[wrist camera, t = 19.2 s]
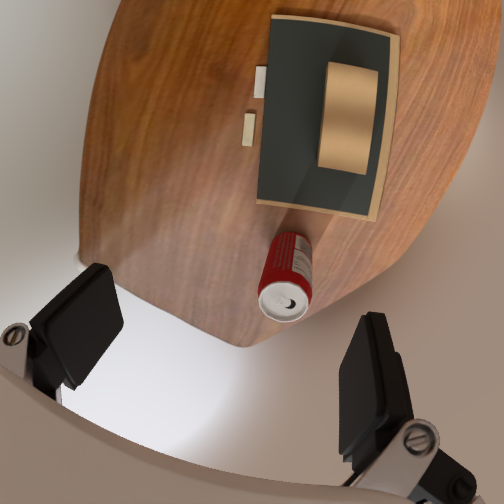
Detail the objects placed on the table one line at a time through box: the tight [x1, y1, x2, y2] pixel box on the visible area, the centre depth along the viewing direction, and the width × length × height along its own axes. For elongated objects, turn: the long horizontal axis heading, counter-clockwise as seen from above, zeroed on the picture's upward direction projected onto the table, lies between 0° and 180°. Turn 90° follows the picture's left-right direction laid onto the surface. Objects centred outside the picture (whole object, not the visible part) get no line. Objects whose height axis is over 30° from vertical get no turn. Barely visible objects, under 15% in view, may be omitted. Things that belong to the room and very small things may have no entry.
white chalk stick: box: [254, 66, 267, 98], centre depth 28 cm, size 4×1×1 cm, turn 177°
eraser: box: [316, 62, 378, 175], centre depth 25 cm, size 11×5×4 cm, turn 177°
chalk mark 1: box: [242, 113, 256, 146], centre depth 31 cm, size 4×1×1 cm, turn 176°
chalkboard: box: [257, 15, 400, 222], centre depth 28 cm, size 24×15×1 cm, turn 177°
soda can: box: [258, 232, 312, 322], centre depth 32 cm, size 6×6×12 cm
